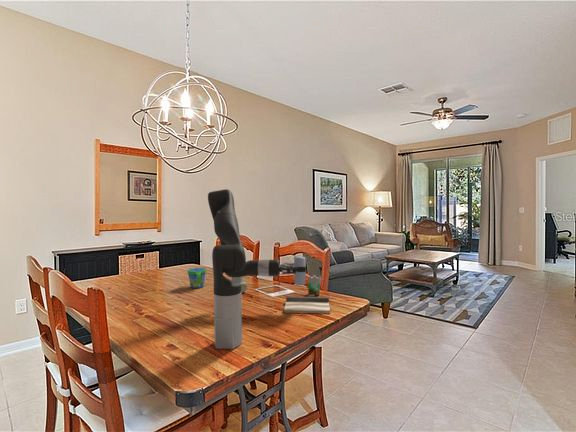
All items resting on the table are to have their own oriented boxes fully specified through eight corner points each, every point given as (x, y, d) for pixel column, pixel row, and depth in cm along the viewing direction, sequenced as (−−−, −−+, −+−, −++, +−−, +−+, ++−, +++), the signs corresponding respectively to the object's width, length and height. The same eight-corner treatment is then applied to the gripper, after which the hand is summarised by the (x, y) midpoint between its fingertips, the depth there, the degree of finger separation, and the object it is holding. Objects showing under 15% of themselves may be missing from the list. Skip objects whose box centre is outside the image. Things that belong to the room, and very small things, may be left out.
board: (330, 313, 133) (330, 306, 133) (283, 312, 135) (283, 305, 135) (328, 303, 147) (328, 297, 147) (286, 302, 149) (286, 296, 149)
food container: (320, 299, 154) (320, 279, 154) (308, 298, 155) (307, 278, 155) (322, 292, 166) (322, 273, 166) (311, 291, 167) (311, 273, 167)
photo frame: (272, 296, 158) (254, 288, 172) (272, 298, 158) (254, 290, 172) (295, 291, 166) (276, 284, 181) (295, 293, 166) (276, 286, 181)
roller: (305, 285, 139) (305, 258, 139) (294, 284, 139) (294, 258, 139) (305, 282, 144) (305, 256, 144) (294, 282, 144) (294, 256, 144)
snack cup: (207, 289, 174) (207, 271, 174) (187, 291, 171) (187, 272, 171) (206, 283, 189) (205, 266, 189) (187, 284, 186) (187, 267, 186)
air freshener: (234, 296, 161) (234, 276, 161) (224, 293, 167) (224, 274, 166) (250, 291, 169) (249, 273, 169) (240, 289, 175) (239, 271, 174)
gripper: (266, 262, 135) (305, 262, 134) (270, 257, 149) (306, 257, 148) (266, 279, 135) (305, 280, 134) (270, 272, 150) (306, 273, 149)
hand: (305, 268), depth 141 cm, fingers closed on roller, 5 cm apart
